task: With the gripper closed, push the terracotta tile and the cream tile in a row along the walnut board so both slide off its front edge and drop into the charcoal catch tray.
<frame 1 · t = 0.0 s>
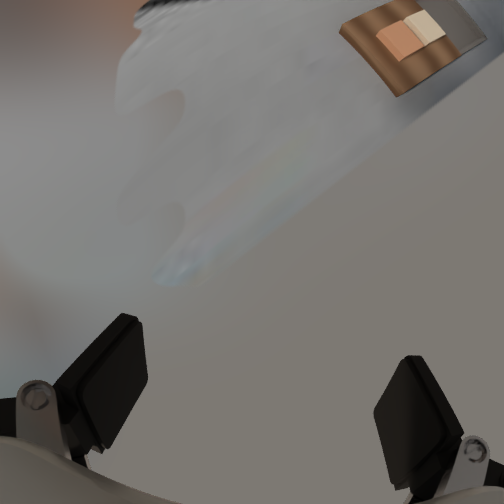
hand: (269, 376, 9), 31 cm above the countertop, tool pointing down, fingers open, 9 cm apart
catch tray: (445, 21, 24), on the countertop
terracotta tile: (398, 42, 26), point 3 cm above the countertop, touching walnut board
cream tile: (421, 29, 24), point 3 cm above the countertop, touching walnut board
walnut board: (401, 43, 28), on the countertop
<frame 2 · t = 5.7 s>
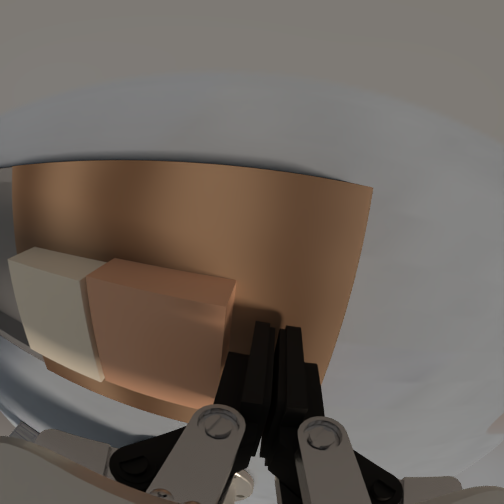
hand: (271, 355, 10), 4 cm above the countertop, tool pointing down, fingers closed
catch tray: (6, 253, 15), on the countertop
terracotta tile: (170, 325, 11), point 3 cm above the countertop, touching gripper, walnut board
medicine box: (41, 437, 25), on the countertop
cream tile: (73, 302, 11), point 3 cm above the countertop, touching walnut board
walnut board: (162, 291, 14), on the countertop
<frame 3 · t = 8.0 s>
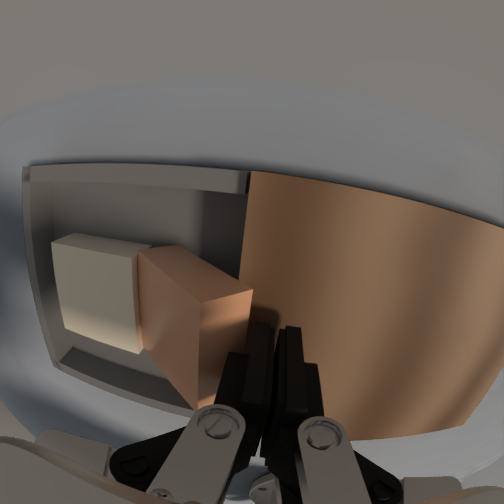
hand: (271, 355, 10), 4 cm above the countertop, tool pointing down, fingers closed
catch tray: (130, 286, 14), on the countertop
terracotta tile: (205, 318, 11), point 2 cm above the countertop, tilted 41°, touching cream tile
cream tile: (91, 299, 11), point 3 cm above the countertop, tilted 180°, touching terracotta tile
walnut board: (394, 324, 13), on the countertop
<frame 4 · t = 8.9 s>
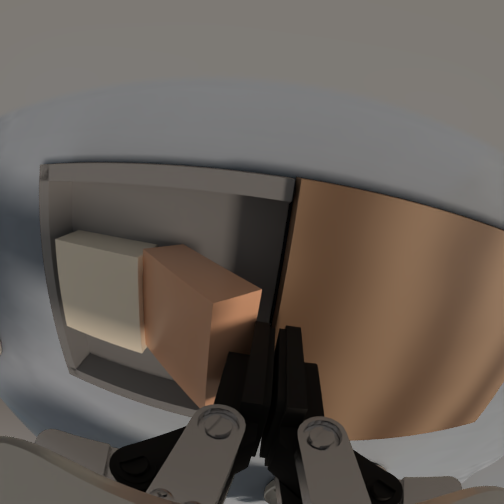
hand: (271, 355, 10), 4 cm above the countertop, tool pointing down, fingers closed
catch tray: (156, 291, 14), on the countertop
terracotta tile: (210, 318, 11), point 2 cm above the countertop, tilted 40°, touching catch tray, cream tile, gripper
cream tile: (94, 297, 11), point 3 cm above the countertop, tilted 180°, touching catch tray, terracotta tile
walnut board: (417, 326, 13), on the countertop
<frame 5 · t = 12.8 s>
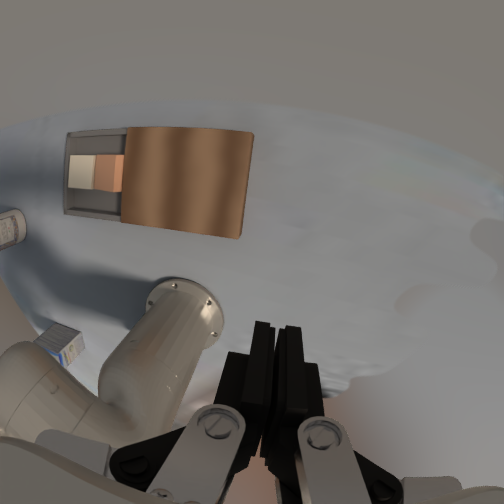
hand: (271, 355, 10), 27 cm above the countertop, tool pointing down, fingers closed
catch tray: (100, 173, 36), on the countertop
terracotta tile: (115, 172, 34), point 1 cm above the countertop, tilted 19°, touching catch tray, walnut board
medicine box: (70, 334, 47), on the countertop
cream tile: (80, 171, 33), point 3 cm above the countertop, tilted 180°, touching catch tray
bath foam: (19, 224, 41), on the countertop
walnut board: (186, 178, 35), on the countertop
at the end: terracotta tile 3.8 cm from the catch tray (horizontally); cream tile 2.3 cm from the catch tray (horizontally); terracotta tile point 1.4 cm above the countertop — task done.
